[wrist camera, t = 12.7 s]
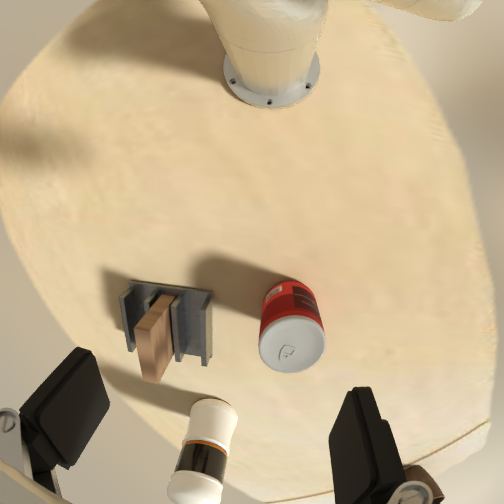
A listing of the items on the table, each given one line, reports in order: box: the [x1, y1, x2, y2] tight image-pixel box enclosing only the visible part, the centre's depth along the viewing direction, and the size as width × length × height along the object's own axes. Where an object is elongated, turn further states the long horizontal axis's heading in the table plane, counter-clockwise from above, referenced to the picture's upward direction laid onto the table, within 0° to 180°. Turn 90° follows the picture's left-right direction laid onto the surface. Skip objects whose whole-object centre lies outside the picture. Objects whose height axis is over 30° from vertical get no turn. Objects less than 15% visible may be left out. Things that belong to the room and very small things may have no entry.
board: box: [134, 295, 175, 384], centre depth 38 cm, size 9×2×10 cm, turn 176°
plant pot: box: [404, 466, 445, 503], centre depth 47 cm, size 15×15×16 cm
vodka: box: [167, 399, 238, 504], centre depth 35 cm, size 9×9×30 cm
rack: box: [119, 280, 212, 367], centre depth 41 cm, size 12×13×4 cm
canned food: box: [258, 281, 326, 373], centre depth 35 cm, size 8×8×11 cm
